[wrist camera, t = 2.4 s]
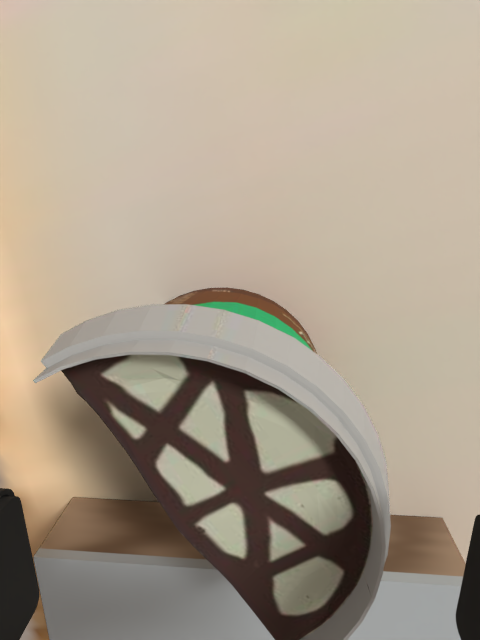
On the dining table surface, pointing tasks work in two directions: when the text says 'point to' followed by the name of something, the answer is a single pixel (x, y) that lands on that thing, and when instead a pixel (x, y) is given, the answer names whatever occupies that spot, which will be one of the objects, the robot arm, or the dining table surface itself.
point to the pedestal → (216, 580)
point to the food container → (245, 449)
